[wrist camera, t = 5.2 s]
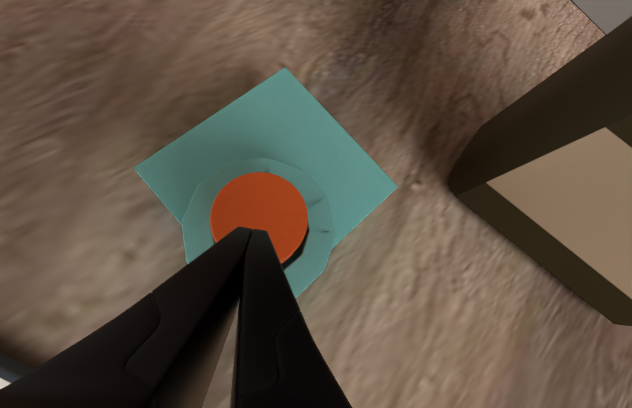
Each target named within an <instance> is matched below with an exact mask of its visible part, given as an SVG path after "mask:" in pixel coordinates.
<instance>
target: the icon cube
mask: <svg viewBox="0 0 632 408" xmlns="http://www.w3.org/2000/svg"><path fill="white" fill-rule="evenodd" d="M572 1H573V2H574V3H575V4H576V5H577V6H578V7H579V8H580V9H581V10H582V11H583V12H584V13H585V14H586V15H587V16H588V17H589V18H590V19H591V20H592V21H593V22H594V23H595V24H596V25H597V26H598V27H599V28H600V29H601V30H602V31H603V32H604V33H605V34H606V35H607V34H608V33H609V32H611V31H612V30H613V29H615V28H616V27H618V26H619V25H620V24H622V23H623V22H624V21H626V20H627V19H628V18H630V17H631V16H632V0H572Z"/></svg>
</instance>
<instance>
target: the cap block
mask: <svg viewBox="0 0 632 408" xmlns="http://www.w3.org/2000/svg"><path fill="white" fill-rule="evenodd" d="M134 170H135V171H136V172H137V173H138V174H139V176H140V177H141V178H142V179H143V180H144V181H145V183H146V184H147V185H148V186H149V187H150V189H151V190H152V191H153V192H154V193H155V194H156V196H157V197H158V198H159V199H160V200H161V202H162V203H163V204H164V205H165V206H166V207H167V209H168V210H169V211H170V212H171V213H172V214H173V216H174V217H175V218H176V219H177V220H178V222H179V223H180V224H181V225H182V233H183V241H184V249H185V257H186V261H187V264H189V263H190V262H191V261H193V260H194V259H195V258H197V257H198V256H199V255H201V254H202V253H203V252H205V251H206V250H207V249H209V248H210V247H211V246H213V245H214V244H215V243H216V242H215V240H214V238H213V235H212V232H211V227H210V213H211V208H212V205H213V202H214V200H215V198H216V196H217V195H218V193H219V192H220V191H221V189H222V188H223V187H224V186H225V185H226V184H228V183H229V182H230V181H232V180H233V179H235V178H237V177H239V176H241V175H244V174H248V173H254V172H266V173H271V174H275V175H278V176H280V177H282V178H284V179H286V180H287V181H289V182H290V183H291V184H293V185H294V186H295V187H296V188H297V190H298V191H299V192H300V194H301V195H302V197H303V199H304V201H305V204H306V207H307V212H308V225H307V230H306V234H305V236H304V239H303V241H302V242H301V244H300V245H299V247H298V248H297V249H296V251H295V252H294V253H293V254H292V255H291V256H290V257H289V258H288V259H287V260H286V261H285V262H283V263H282V264H281V265H282V267H283V270H284V272H285V275H286V277H287V280H288V282H289V284H290V287H291V289H292V292H293V294H294V296H295V298H296V297H297V296H298V295H299V294H300V293H302V292H303V291H304V290H305V289H306V288H307V287H308V286H309V285H310V284H311V283H312V282H313V281H314V280H315V279H316V278H317V277H318V276H319V275H320V274H321V273H322V272H324V270H325V269H326V265H327V262H328V259H329V255H330V252H331V249H332V248H333V247H335V246H336V245H337V244H338V243H339V242H340V241H341V240H342V239H343V238H344V237H345V236H346V235H347V234H348V233H349V232H351V231H352V230H353V229H354V228H355V227H356V226H357V225H358V224H359V223H360V222H361V221H362V220H363V219H364V218H365V217H367V216H368V215H369V214H370V213H371V212H372V211H373V210H374V209H375V208H376V207H377V206H378V205H379V204H380V203H382V202H383V201H384V200H385V199H386V198H387V197H388V196H389V195H390V194H391V193H392V192H393V191H394V190H395V189H396V188H398V186H397V185H396V184H395V183H394V182H393V181H392V180H391V179H390V177H389V176H388V175H387V174H386V173H385V172H384V171H383V170H382V169H381V168H380V167H379V166H378V165H377V164H376V163H375V162H374V160H373V159H372V158H371V157H370V156H369V155H368V154H367V153H366V152H365V151H364V150H363V149H362V148H361V147H360V146H359V145H358V144H357V142H356V141H355V140H354V139H353V138H352V137H351V136H350V135H349V134H348V133H347V132H346V131H345V130H344V129H343V128H342V127H341V125H340V124H339V123H338V122H337V121H336V120H335V119H334V118H333V117H332V116H331V115H330V114H329V113H328V112H327V111H326V110H325V109H324V107H323V106H322V105H321V104H320V103H319V102H318V101H317V100H316V99H315V98H314V97H313V96H312V95H311V94H310V93H309V92H308V90H307V89H306V88H305V87H304V86H303V85H302V84H301V83H300V82H299V81H298V80H297V79H296V78H295V77H294V76H293V75H292V74H291V72H290V71H289V70H288V69H287V68H286V67H284V68H283V69H281V70H280V71H278V72H277V73H275V74H274V75H272V76H271V77H269V78H268V79H266V80H265V81H263V82H262V83H260V84H259V85H257V86H256V87H254V88H253V89H251V90H250V91H248V92H247V93H245V94H244V95H242V96H241V97H239V98H238V99H236V100H235V101H233V102H232V103H230V104H229V105H227V106H226V107H224V108H223V109H221V110H220V111H218V112H217V113H215V114H214V115H212V116H211V117H209V118H208V119H206V120H205V121H203V122H202V123H200V124H198V125H197V126H195V127H194V128H192V129H191V130H189V131H188V132H186V133H185V134H183V135H182V136H180V137H179V138H177V139H176V140H174V141H173V142H171V143H170V144H168V145H167V146H165V147H164V148H162V149H161V150H159V151H158V152H156V153H155V154H153V155H152V156H150V157H149V158H147V159H146V160H144V161H143V162H141V163H140V164H138V165H137V166H135V167H134ZM239 301H240V300H239Z"/></svg>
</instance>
